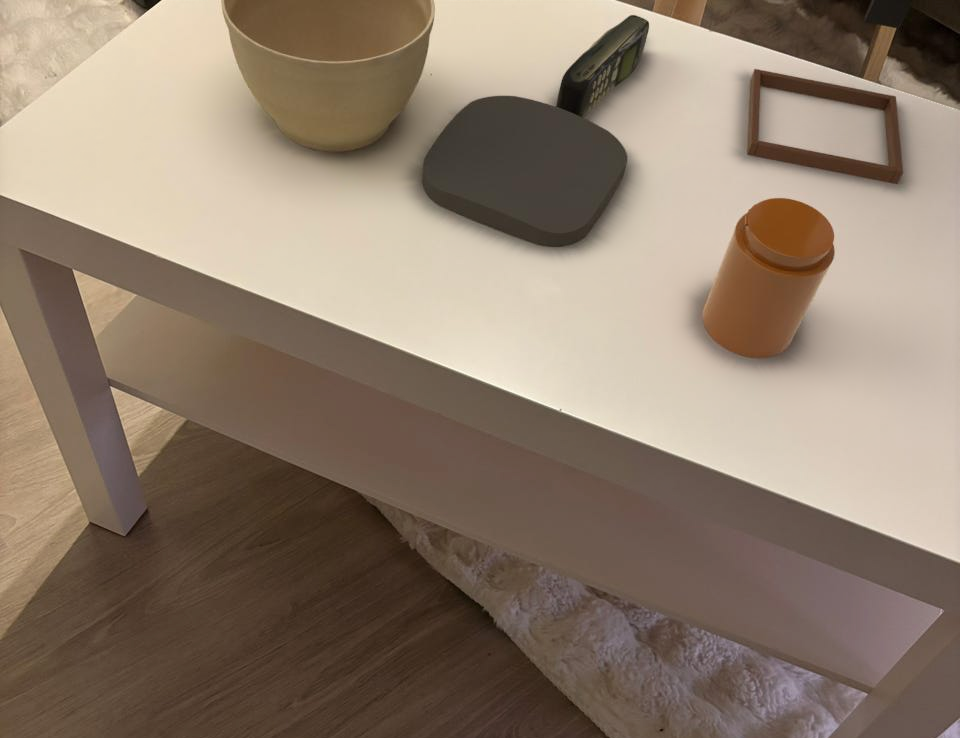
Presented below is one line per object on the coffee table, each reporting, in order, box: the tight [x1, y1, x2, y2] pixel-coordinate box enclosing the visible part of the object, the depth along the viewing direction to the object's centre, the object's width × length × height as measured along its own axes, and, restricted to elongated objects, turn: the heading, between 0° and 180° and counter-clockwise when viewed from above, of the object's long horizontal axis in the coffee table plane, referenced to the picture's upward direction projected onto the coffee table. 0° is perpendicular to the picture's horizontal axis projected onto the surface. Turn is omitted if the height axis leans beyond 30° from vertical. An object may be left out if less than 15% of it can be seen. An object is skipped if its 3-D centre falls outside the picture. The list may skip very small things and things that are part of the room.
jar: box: [701, 197, 836, 359], centre depth 74 cm, size 7×7×10 cm
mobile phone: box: [555, 14, 650, 119], centre depth 91 cm, size 5×3×15 cm
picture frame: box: [746, 68, 904, 185], centre depth 91 cm, size 13×11×2 cm
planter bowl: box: [221, 0, 436, 153], centre depth 82 cm, size 16×16×11 cm
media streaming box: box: [421, 95, 628, 248], centre depth 84 cm, size 15×15×3 cm
